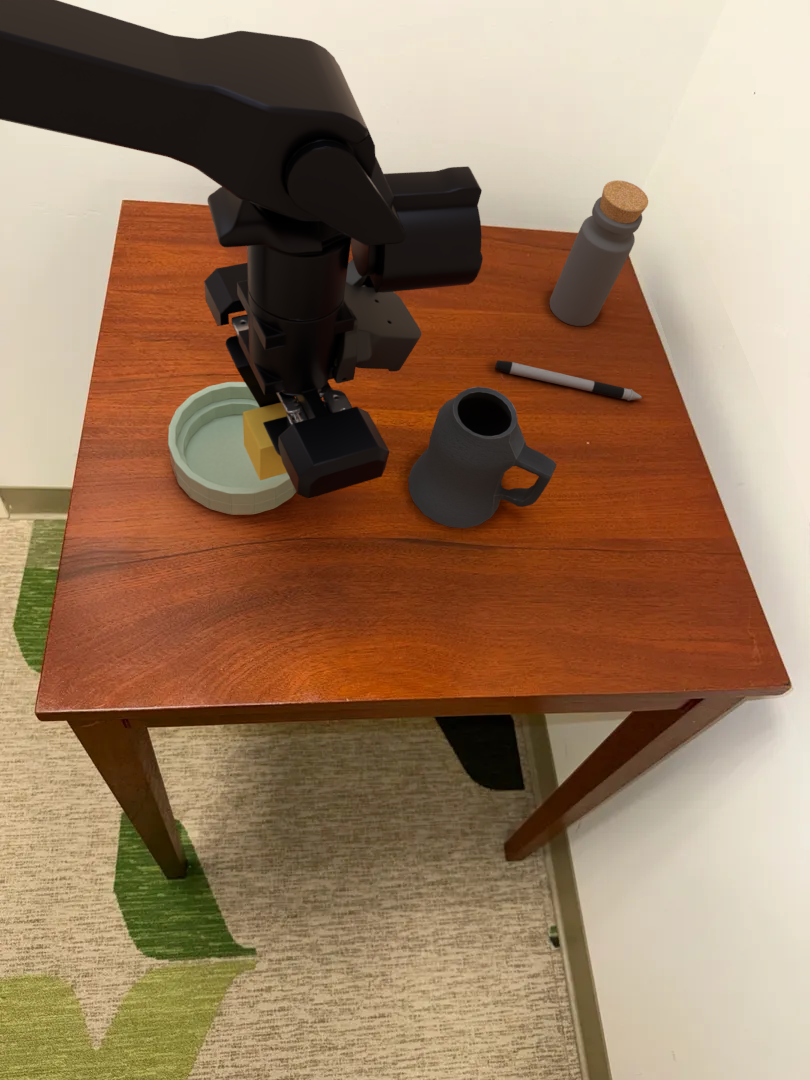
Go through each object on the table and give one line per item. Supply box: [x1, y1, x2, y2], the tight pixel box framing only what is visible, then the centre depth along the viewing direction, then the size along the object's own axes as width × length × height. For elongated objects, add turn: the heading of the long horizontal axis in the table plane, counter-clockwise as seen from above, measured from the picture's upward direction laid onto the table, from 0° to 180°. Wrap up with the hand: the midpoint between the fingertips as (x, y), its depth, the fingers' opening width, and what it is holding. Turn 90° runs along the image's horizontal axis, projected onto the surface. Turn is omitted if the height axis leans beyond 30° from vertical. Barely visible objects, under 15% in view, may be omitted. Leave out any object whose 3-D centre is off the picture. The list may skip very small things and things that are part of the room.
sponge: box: [243, 401, 298, 480], centre depth 58 cm, size 6×4×4 cm, turn 116°
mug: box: [407, 386, 557, 529], centre depth 68 cm, size 12×9×11 cm
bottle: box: [549, 180, 649, 327], centre depth 83 cm, size 6×6×15 cm
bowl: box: [167, 381, 297, 516], centre depth 69 cm, size 12×12×4 cm
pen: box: [494, 359, 643, 402], centre depth 82 cm, size 1×16×1 cm, turn 82°
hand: (288, 445), depth 59 cm, fingers closed on sponge, 3 cm apart
